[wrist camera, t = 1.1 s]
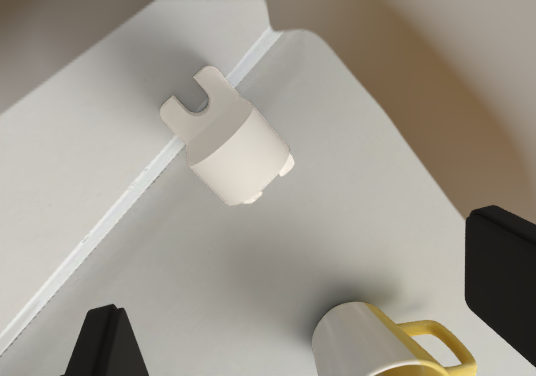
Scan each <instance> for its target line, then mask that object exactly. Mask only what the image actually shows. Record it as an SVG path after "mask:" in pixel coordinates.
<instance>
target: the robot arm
mask: <svg viewBox="0 0 536 376" xmlns="http://www.w3.org/2000/svg"><path fill="white" fill-rule="evenodd" d="M465 301H466V303H467V305H468V307H469V308H470V310H471V311H472V312H474V313H475V314H476V315H477V316H478V317H479V318H480V319H482V320H483V321H484V322H485V323H486V324H487V325H488V326H489V327H491V328H492V329H493V330H494V331H495V332H496V333H497V334H498V335H500V336H501V337H502V338H503V339H504V340H505V341H506V342H507V343H509V344H510V345H511V346H512V347H513V348H514V349H515V350H516V351H518V352H519V353H520V354H521V355H522V356H523V357H524V358H525V359H527V360H528V361H529V362H530V363H531V364H532V365H533V366H534V367H536V225H535V224H533V223H531V222H529V221H527V220H525V219H523V218H521V217H519V216H517V215H515V214H512V213H511V212H508V211H506V210H504V209H502V208H500V207H498V206H495V205H491V206H487V207H483V208H480V209H475V210H473V211H472V212H471V213H470V216H469V217H468V218H467V219H466V226H465ZM61 376H149V374H148V371H147V369H146V366H145V363H144V360H143V358H142V355H141V352H140V349H139V347H138V344H137V341H136V338H135V336H134V333H133V330H132V327H131V325H130V322H129V319H128V316H127V314H126V311H125V309H124V308H119V309H117V307H116V306H115V305H114V304H110V305H107V306H103V307H99V308H95V309H91V310H89V311H88V313H87V315H86V318H85V320H84V323H83V326H82V328H81V331H80V334H79V337H78V339H77V342H76V345H75V347H74V350H73V353H72V356H71V358H70V361H69V364H68V367H67V369H66V372H65V374H64V375H61Z"/></svg>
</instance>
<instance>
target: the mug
mask: <svg viewBox="0 0 536 376" xmlns="http://www.w3.org/2000/svg"><path fill="white" fill-rule="evenodd" d="M422 334H431V335H434V336H436V337H438V338H439V339H440V340H441V341H442V342H444V343H445V344H446V345H447V346H448V347H449V348H450V349H451V351H452V352H453V353H454V354H455V355H456V357H457V358H458V359H459V361H460V362H461V363H462V364H460V365H457V366H453V367H443V366H442V365H441V364H440V363H438V362H437V361H436V360H435V359H434V358H433V357H432V356H431V355H430V354H429V353H428V352H427V351H426V350H425V349H423V348H422V347H421V346H420V345H419V344H418V343H417V342H415V341H414V340H413V339H412V338H411V337H410V336H416V335H422ZM312 350H313V354H314V358H315V363H316V367H317V372H318V376H475V374H476V371H477V364H476V361H475V359H474V357H473V356H472V355H471V353H470V352H469V351H468V350H467V348H466V347H465V346H464V345H463V344H462V343H461V342H460V341H459V339H458V338H457V337H456V336H455V335H453V334H452V333H451V332H450V331H449V330H448V329H447V328H445V327H444V326H443V325H441V324H440V323H438V322H436V321H433V320H422V321H415V322H407V323H401V324H395V323H394V322H393V321H392V320H391V319H390V318H389V317H387V316H386V315H385V314H384V313H383V312H382V311H381V310H380V309H378V308H377V307H375V306H373V305H371V304H368V303H364V302H349V303H344V304H340V305H338V306H336V307H334V308H332V309H331V310H330V311H328V312H327V313H326V314H325V315H324V316H323V318H322V319H321V320H320V322H319V323H318V325H317V327H316V329H315V331H314V334H313V337H312Z"/></svg>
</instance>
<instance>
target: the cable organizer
mask: <svg viewBox="0 0 536 376" xmlns="http://www.w3.org/2000/svg"><path fill="white" fill-rule="evenodd" d="M193 78H194V79H195V80H196V81H197V82H198V84H199V85H200V86H201V87H202V88H203V89H204V90H205V91H206V93H207V94H208V97H209V102H208V105H207V107H206V108H205V109H204V110H203V111H201V112H198V113H194V112H191V111H189V110H187V109H186V108H185V107H184V106H183V105H182V104H181V102H180V101H179V100H178V99H177V98H176V97H175V96H174V95H172V96H171V97H170V98H169V99H168V100H167V101H166V102H165V103H164V104H163V105H162V107H161V109H160V113H159V115H160V118H161V120H162V121H163V122H164V123H165V124H166V125H167V126H168V127H169V128H170V129H171V130H172V131H173V132H174V133H175V134H176V135H177V136H178V137H179V138H180V139H181V140H182V141H183V142H184V143H185V144H186V154H187V165H188V166H189V167H190V168H191V169H192V170H193V171H194V172H195V173H196V174H197V175H198V176H199V177H200V178H201V179H202V180H203V181H204V182H205V183H206V184H207V185H208V186H209V187H210V188H211V189H212V190H213V191H214V192H215V193H216V194H217V195H218V196H219V197H220V198H221V199H222V200H223V201H224V202H225V203H226V204H227V205H230V206H234V205H238V204H240V203H245V204H251V203H253V202H254V201H255V200H256V199H257V198H258V197H260V196H261V195H262V194H263V193H262V191H261V190H262V189H263V188H265V187H266V186H267V185H268V184H269V183H270V182H271V181H272V180H273V179H274V178H275V177H276V175H277V174H278V173H279V175H280V176H281V177H282V176H283V175H285V174H286V173H287V172H288V171H289V170H290V169H291V168H292V167H293V165H294V159H293V157H292V156H291V155H290V154H289V152H290V149H289V147H288V146H287V145H286V143H285V142H284V141H283V140H282V139H281V138H280V136H279V135H278V134H277V133H276V132H275V130H274V129H273V128H272V127H271V126H270V125H269V123H268V122H267V121H266V120H265V119H264V117H263V116H262V115H261V114H260V113H259V111H258V110H257V109H256V108H255V107H254V106H253V105H252V104H251V103H250V102H248V101H247V100H245V99H244V98H243V97H241V96H240V95H239V94H238V93H237V91H236V90H235V89H234V88H233V87H232V86H231V84H230V83H229V82H228V81H227V80H226V79H225V77H224V76H223V75H222V74H221V73H220V71H219V70H218V69H217V68H215V67H213V66H210V65H208V66H205V67H203V68H202V69H201V70H200V71H199V72H198V73H197V74H195V75H194V76H193Z"/></svg>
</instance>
